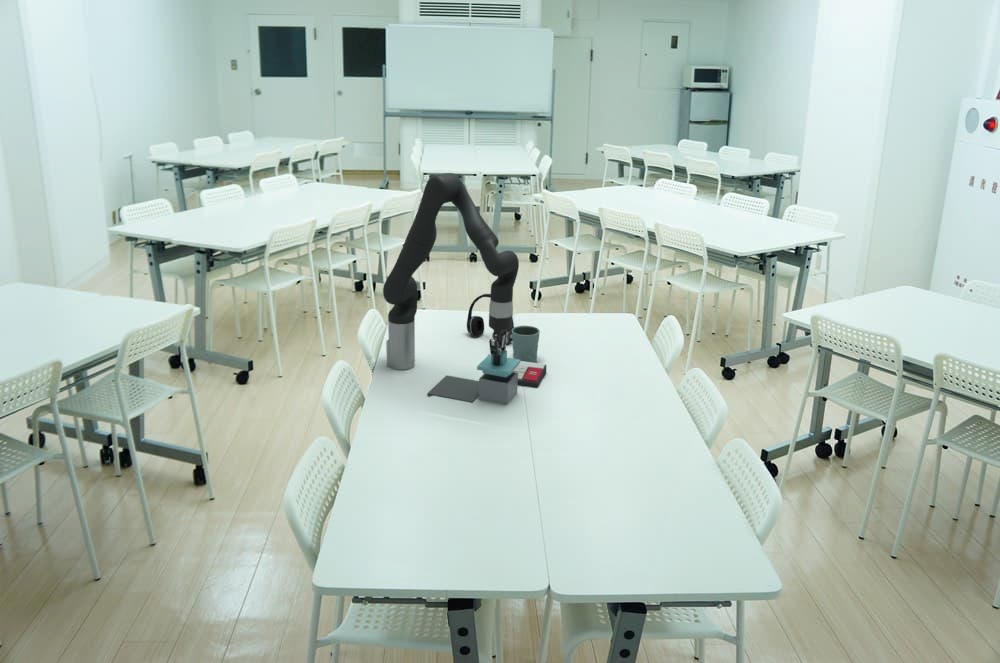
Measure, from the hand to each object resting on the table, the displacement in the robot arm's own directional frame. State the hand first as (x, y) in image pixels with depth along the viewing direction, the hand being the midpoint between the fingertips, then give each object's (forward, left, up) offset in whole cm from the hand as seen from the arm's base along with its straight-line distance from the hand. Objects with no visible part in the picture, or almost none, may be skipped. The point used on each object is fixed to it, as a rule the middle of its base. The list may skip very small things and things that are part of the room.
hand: (498, 362), depth 276 cm
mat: (-14, 0, -13) cm, 19 cm away
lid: (0, 0, -3) cm, 3 cm away
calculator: (+4, +18, -13) cm, 23 cm away
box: (0, 0, -13) cm, 13 cm away
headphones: (-21, +49, -13) cm, 55 cm away
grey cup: (-2, +34, -13) cm, 36 cm away
